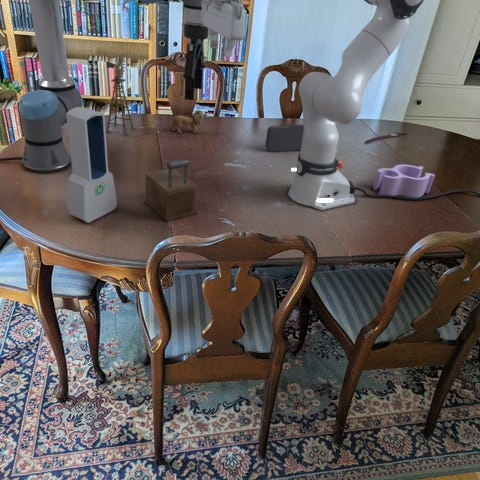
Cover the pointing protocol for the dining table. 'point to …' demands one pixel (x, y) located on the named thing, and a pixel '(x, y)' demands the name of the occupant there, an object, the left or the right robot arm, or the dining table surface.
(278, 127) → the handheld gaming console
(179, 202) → the chest
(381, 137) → the sword
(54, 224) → the dining table surface
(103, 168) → the electronic device
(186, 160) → the lid
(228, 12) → the right robot arm
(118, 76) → the miniature windmill
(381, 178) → the clip
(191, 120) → the lion figurine
